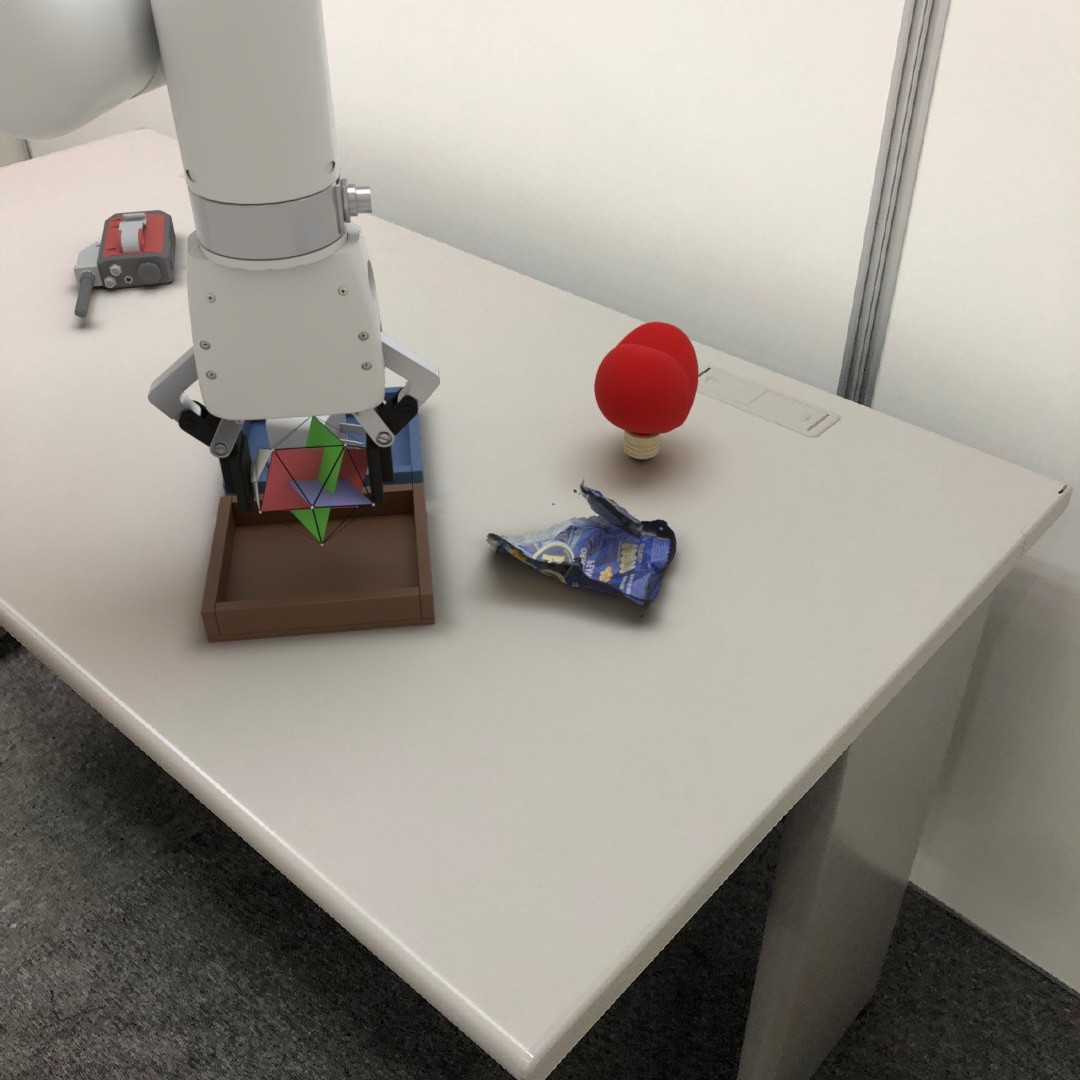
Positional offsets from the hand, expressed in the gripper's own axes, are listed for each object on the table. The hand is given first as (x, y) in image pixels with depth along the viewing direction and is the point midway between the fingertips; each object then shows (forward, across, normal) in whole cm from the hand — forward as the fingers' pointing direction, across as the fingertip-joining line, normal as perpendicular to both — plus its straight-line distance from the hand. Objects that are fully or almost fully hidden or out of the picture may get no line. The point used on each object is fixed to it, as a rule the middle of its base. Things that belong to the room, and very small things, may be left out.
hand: (313, 493), depth 66 cm
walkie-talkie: (+6, +20, -47) cm, 51 cm away
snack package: (+7, -17, +2) cm, 18 cm away
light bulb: (+7, -23, -10) cm, 26 cm away
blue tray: (+6, 0, -13) cm, 14 cm away
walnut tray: (+6, 0, 0) cm, 6 cm away
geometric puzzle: (+2, 0, 0) cm, 2 cm away
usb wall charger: (+6, 0, -13) cm, 14 cm away
